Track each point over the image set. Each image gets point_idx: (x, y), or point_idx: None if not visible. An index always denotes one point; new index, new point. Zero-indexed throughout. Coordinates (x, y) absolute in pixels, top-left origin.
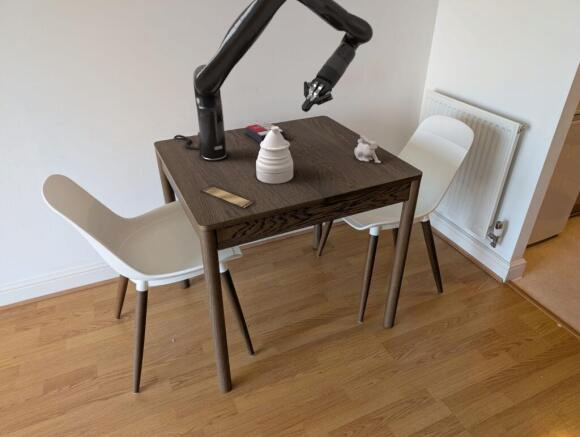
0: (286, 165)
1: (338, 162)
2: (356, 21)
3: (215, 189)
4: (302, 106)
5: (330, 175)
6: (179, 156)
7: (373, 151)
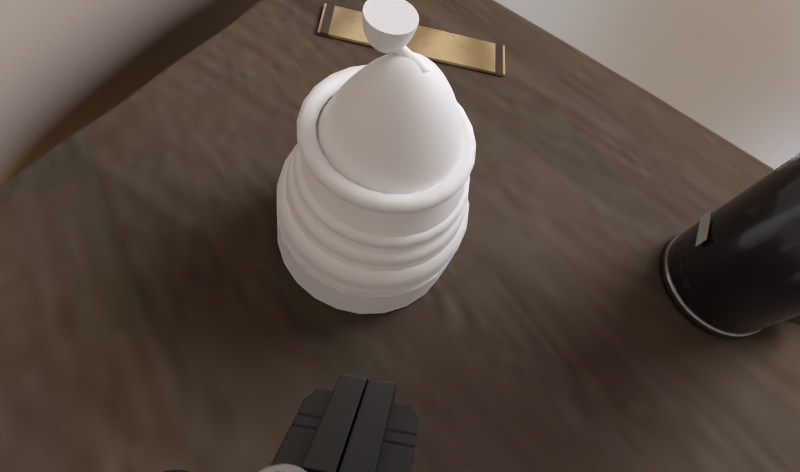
0: (288, 158)
1: None
2: None
3: (479, 61)
4: (391, 390)
5: (84, 357)
6: None
7: None
